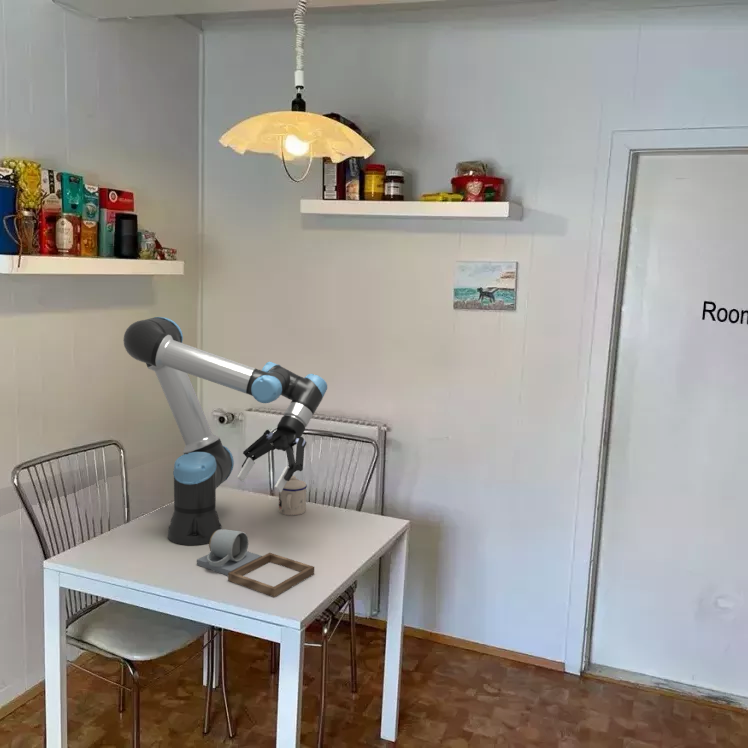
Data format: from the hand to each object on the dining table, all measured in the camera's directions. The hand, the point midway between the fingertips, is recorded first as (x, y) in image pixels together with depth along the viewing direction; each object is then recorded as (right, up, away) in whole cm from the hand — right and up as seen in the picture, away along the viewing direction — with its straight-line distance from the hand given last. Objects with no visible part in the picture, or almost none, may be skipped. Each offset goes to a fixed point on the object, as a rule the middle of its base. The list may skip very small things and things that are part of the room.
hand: (258, 484), depth 200 cm
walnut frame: (+6, -22, -14) cm, 26 cm away
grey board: (-7, -20, -7) cm, 22 cm away
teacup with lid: (+5, -14, +33) cm, 36 cm away
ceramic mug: (-7, -19, -8) cm, 22 cm away
